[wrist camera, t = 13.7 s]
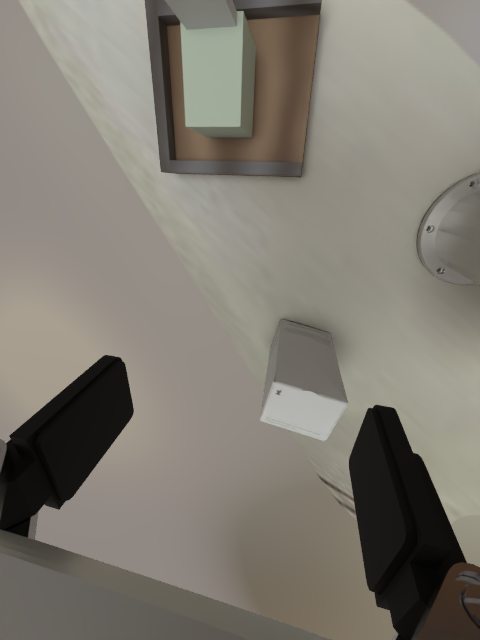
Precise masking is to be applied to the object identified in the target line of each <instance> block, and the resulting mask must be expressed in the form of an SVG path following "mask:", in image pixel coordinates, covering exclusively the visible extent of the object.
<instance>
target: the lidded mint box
mask: <svg viewBox="0 0 480 640" xmlns="http://www.w3.org/2000/svg"><path fill="white" fill-rule="evenodd" d="M165 1H166V3H167V4H168V5H169V7H170V8H171V9H172V11H173V12H174V13H175V15H176V16H177V17H178V19H179V20H180V27H181V46H182V66H183V86H184V105H185V125H186V127H187V128H189V129H191V130H193V131H195V132H197V133H199V134H201V135H203V136H205V137H235V138H252V129H253V106H254V83H255V60H256V46H255V43H254V40H253V37H252V34H251V31H250V28H249V26H248V23H247V20H246V17H245V14H244V11H237V10H236V8H235V5H234V3H233V0H165Z"/></svg>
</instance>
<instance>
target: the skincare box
mask: <svg viewBox="0 0 480 640" xmlns="http://www.w3.org/2000/svg"><path fill="white" fill-rule="evenodd" d="M347 406H348V401H347V397H346V393H345V389H344V385H343V382H342V378H341V374H340V370H339V366H338V362H337V358H336V354H335V350H334V346H333V342H332V338H331V335H330V333H327V332H324V331H321V330H317V329H314V328H311V327H307V326H304V325H300V324H297V323H294V322H290V321H287V320H283V319H281V321H280V323H279V326H278V328H277V331H276V334H275V337H274V340H273V343H272V346H271V349H270V354H269V361H268V368H267V374H266V381H265V388H264V396H263V402H262V409H261V417H260V421H263V422H266V423H269V424H272V425H276V426H279V427H282V428H285V429H288V430H291V431H294V432H297V433H301V434H304V435H307V436H310V437H313V438H316V439H319V440H322V441H326V439H327V438H328V436H329V435H330V433H331V432H332V430H333V428H334V427H335V425H336V424H337V422H338V420H339V419H340V417H341V415H342V414H343V412H344V410H345V409H346V407H347Z"/></svg>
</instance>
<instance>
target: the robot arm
mask: <svg viewBox="0 0 480 640" xmlns="http://www.w3.org/2000/svg"><path fill="white" fill-rule="evenodd" d="M471 182H472V185H471V186H470V183H471ZM428 226H429V229H428V230H426V228H427V227H428ZM417 250H418V254H419V257H420V260H421V261H422V263H423V265H424V267H425V268H426V269H427V270H428V271H429V272H430V273H432V274H433V275H434V276H436V277H437V278H439V279H441V280H443V281H445V282H449V283H453V284H460V285H473V284H478V285H480V173H478V174H475V175H472V176H470V177H468V178H466V179H464V180H462V181H460V182H458V183H457V184H455V185H454V186H452V187H451V188H449V189H448V190H447V191H446V192H444V193H443V194H442V195H441V196H440V197H439V198H438V199H437V200H436V201H435V203H434V204H433V205H432V206H431V207H430V209H429V210H428V212H427V214H426V215H425V217H424V219H423V221H422V223H421V226H420V229H419V232H418V238H417ZM439 268H440V269H439ZM438 269H439V270H438ZM437 270H438V271H437ZM133 412H134V410H133V403H132V398H131V393H130V388H129V383H128V377H127V372H126V367H125V363H124V362H122V359H121V358H119V357H115V356H108V355H105V356H103V357H102V358H101V359H99V360H98V361H97V362H96V363H95V364H93V365H92V366H91V367H90V368H89V369H88V370H86V371H85V372H84V373H83V374H82V375H80V376H79V377H78V378H77V379H76V380H75V381H73V382H72V383H71V384H70V385H69V386H68V387H66V388H65V389H64V390H63V391H62V392H60V393H59V394H58V395H57V396H56V397H55V398H53V399H52V400H51V401H50V402H49V403H47V404H46V405H45V406H44V407H43V408H42V409H40V410H39V411H38V412H37V413H36V414H35V415H33V416H32V417H31V418H30V419H29V420H27V421H26V422H25V423H24V424H23V425H21V426H20V427H19V428H18V429H17V430H16V431H15V432H13V433H12V434H11V435H10V438H11V440H10V441H9V442H7V443H5V442H4V441H3V440H1V439H0V640H331V639H328V638H325V637H322V636H319V635H317V634H314V633H311V632H308V631H306V630H303V629H300V628H297V627H294V626H291V625H289V624H286V623H283V622H280V621H277V620H274V619H271V618H268V617H265V616H262V615H259V614H256V613H253V612H250V611H247V610H244V609H241V608H238V607H235V606H232V605H229V604H227V603H224V602H221V601H218V600H214V599H212V598H209V597H206V596H203V595H200V594H197V593H194V592H191V591H188V590H185V589H182V588H179V587H176V586H173V585H170V584H167V583H164V582H161V581H158V580H155V579H152V578H149V577H146V576H143V575H140V574H137V573H134V572H131V571H128V570H125V569H122V568H119V567H116V566H113V565H110V564H107V563H104V562H101V561H98V560H94V559H92V558H89V557H86V556H82V555H79V554H76V553H73V552H70V551H67V550H64V549H61V548H58V547H55V546H52V545H49V544H46V543H43V542H40V541H37V540H35V533H36V526H37V518H38V511H39V510H40V509H41V507H42V506H43V505H44V504H45V505H46V506H49V507H53V508H56V509H60V508H61V506H62V505H63V504H64V502H65V501H66V500H69V499H71V498H72V497H73V496H74V494H75V493H76V491H77V490H78V489H79V487H80V486H81V485H82V483H83V482H84V481H85V480H86V478H87V477H88V476H89V474H90V473H91V472H92V470H93V469H94V468H95V466H96V465H97V464H98V462H99V461H100V459H101V458H102V457H103V455H104V454H105V453H106V452H107V450H108V449H109V448H110V446H111V445H112V443H113V442H114V441H115V439H116V438H117V436H118V435H119V434H120V433H121V431H122V430H123V429H124V427H125V426H126V425H127V423H128V422H129V421H130V419H131V418H132V415H133ZM349 470H350V477H351V483H352V490H353V496H354V503H355V509H356V516H357V522H358V529H359V535H360V541H361V548H362V554H363V561H364V567H365V574H366V579H367V585H368V588H369V590H370V591H372V592H375V598H376V604H377V607H381V608H384V609H387V610H390V613H391V618H392V623H393V627H394V629H395V630H396V633H395V635H394V637H393V639H392V640H480V567H478V566H475V565H473V564H469V563H467V562H466V560H465V557H464V555H463V553H462V551H461V548H460V546H459V543H458V541H457V539H456V536H455V535H454V532H453V529H452V527H451V525H450V522H449V520H448V518H447V515H446V513H445V511H444V508H443V506H442V503H441V501H440V499H439V496H438V494H437V492H436V489H435V487H434V485H433V482H432V480H431V478H430V475H429V473H428V471H427V468H426V466H425V464H424V462H423V460H422V458H421V457H420V456H419V455H418V454H415V453H413V452H412V449H411V447H410V444H409V442H408V439H407V437H406V434H405V432H404V429H403V427H402V424H401V422H400V419H399V417H398V414H397V412H396V410H395V409H394V408H391V407H385V406H380V405H375V406H374V407H373V408H368V410H367V412H366V415H365V418H364V420H363V423H362V426H361V428H360V431H359V434H358V436H357V439H356V442H355V444H354V447H353V450H352V452H351V455H350V458H349Z"/></svg>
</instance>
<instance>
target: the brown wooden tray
mask: <svg viewBox="0 0 480 640" xmlns="http://www.w3.org/2000/svg"><path fill="white" fill-rule="evenodd" d="M321 1H322V0H233V3H234V5H235V8H236V10H237V11H244V14H245V17H246V20H247V23H248V26H249V28H250V31H251V34H252V37H253V40H254V43H255V46H256V60H255V83H254V106H253V129H252V138H235V137H205V136H203V135H201V134H199V133H197V132H195V131H193V130H191V129H189V128H187V127H186V125H185V105H184V86H183V66H182V46H181V27H180V20H179V19H178V17H177V16H176V15H175V13H174V12H173V11H172V9H171V8H170V7H169V5H168V4H167V3H166V1H165V0H145V8H146V18H147V29H148V39H149V50H150V61H151V71H152V82H153V92H154V103H155V114H156V124H157V135H158V145H159V156H160V167H161V172H165V173H176V174H209V175H245V176H281V177H301V172H302V163H303V155H304V147H305V138H306V130H307V121H308V113H309V104H310V96H311V88H312V79H313V71H314V62H315V54H316V46H317V37H318V29H319V20H320V11H321Z"/></svg>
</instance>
